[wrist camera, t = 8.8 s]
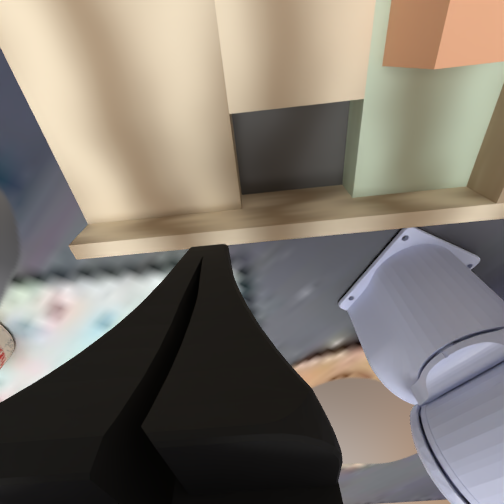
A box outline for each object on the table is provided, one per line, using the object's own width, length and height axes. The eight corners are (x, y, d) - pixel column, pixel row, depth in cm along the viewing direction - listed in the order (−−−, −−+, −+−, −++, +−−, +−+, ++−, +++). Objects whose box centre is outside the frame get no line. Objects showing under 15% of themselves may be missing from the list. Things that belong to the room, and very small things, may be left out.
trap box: (662, -448, 8) (1062, -928, 4) (452, 185, 20) (507, 218, 16) (-126, -313, 9) (-420, -607, 5) (109, 219, 21) (76, 259, 17)
